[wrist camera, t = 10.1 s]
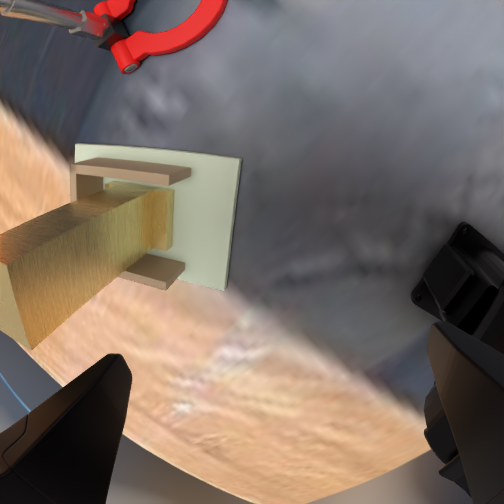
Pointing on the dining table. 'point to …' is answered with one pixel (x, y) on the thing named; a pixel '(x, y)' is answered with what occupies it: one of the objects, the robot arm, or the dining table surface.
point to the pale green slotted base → (185, 207)
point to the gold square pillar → (77, 254)
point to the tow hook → (119, 27)
